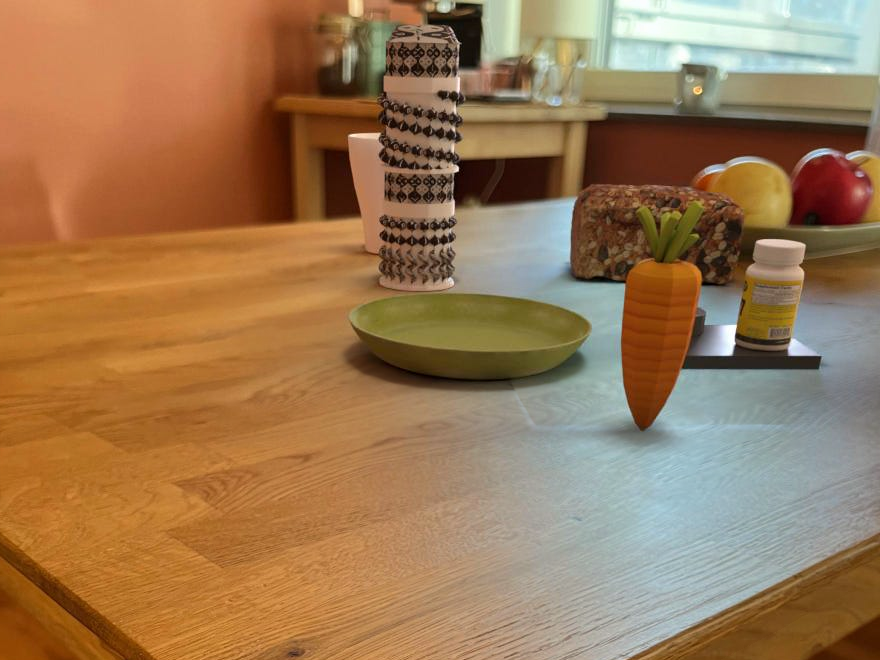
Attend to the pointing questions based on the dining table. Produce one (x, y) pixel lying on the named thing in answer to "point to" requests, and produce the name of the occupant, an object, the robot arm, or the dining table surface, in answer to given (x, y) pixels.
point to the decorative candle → (419, 157)
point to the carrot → (659, 314)
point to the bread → (624, 240)
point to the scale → (740, 351)
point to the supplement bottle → (770, 296)
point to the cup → (368, 185)
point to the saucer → (469, 334)
